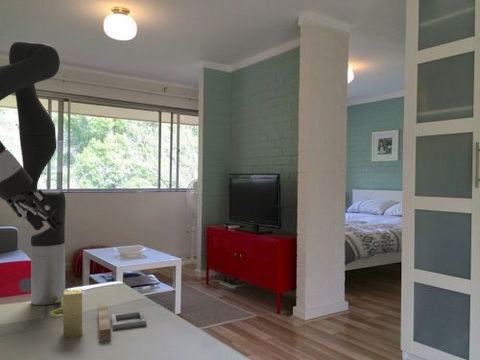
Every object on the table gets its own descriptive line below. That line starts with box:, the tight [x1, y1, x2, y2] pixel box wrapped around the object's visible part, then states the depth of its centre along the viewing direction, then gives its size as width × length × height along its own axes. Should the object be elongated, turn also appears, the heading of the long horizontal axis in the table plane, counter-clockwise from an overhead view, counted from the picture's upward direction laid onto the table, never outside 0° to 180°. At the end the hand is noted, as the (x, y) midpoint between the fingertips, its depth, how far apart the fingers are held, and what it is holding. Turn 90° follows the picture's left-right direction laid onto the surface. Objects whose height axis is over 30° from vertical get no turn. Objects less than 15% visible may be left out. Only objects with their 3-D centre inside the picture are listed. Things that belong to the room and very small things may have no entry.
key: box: [49, 298, 63, 318], centre depth 113 cm, size 7×12×2 cm, turn 45°
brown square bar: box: [97, 305, 112, 342], centre depth 101 cm, size 18×2×2 cm, turn 20°
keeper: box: [110, 310, 147, 331], centre depth 104 cm, size 8×8×1 cm
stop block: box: [62, 288, 83, 339], centre depth 96 cm, size 4×4×10 cm
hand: (49, 228), depth 97 cm, fingers open, 8 cm apart
